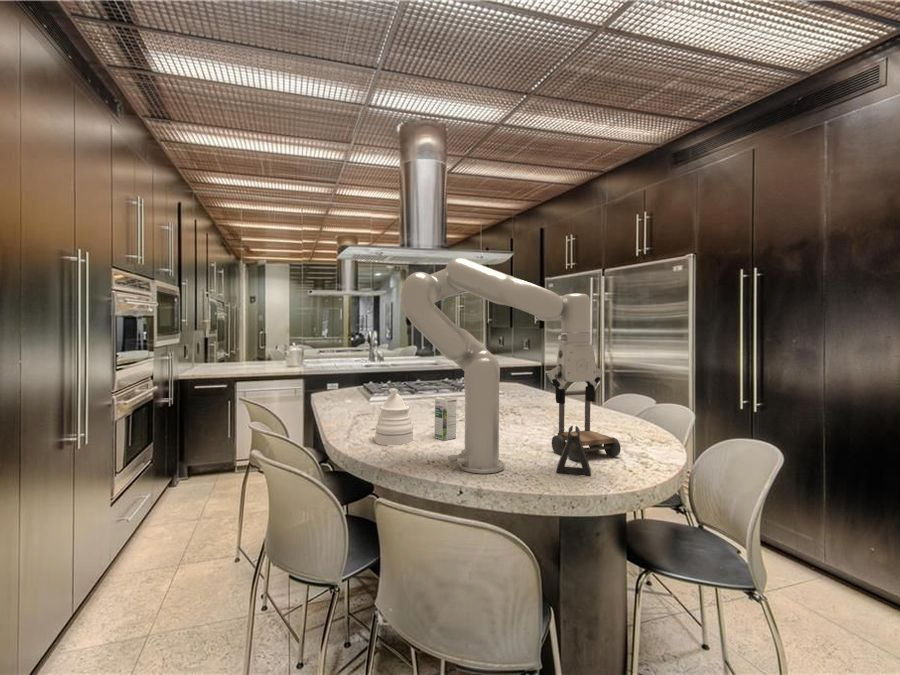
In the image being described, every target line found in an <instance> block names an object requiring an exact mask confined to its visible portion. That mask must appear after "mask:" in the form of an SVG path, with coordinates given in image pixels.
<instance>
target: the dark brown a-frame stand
mask: <svg viewBox="0 0 900 675" xmlns="http://www.w3.org/2000/svg"><path fill="white" fill-rule="evenodd" d="M573 429H575V431H576V432H577V433H578V434H577V435H576V436H573V435H572V434H571V433H570V432H573ZM580 431H581V430H580V427H578V426H577V425H576V426H575V428H574V426H573V425H571V426H569V427H568V430H567V432H568V440H567V441H566V445H565V447H564V450H563V452H562V454H560V457H559V460H558V462H557V464H556V470H555V473H556V474H559V475H569V474H572V475H571V476H580V475H585V476H584V477H592V472H591V467H590V463H589V460H588V458H587V455H586V451H584V449H583V448H584V446H582V443H581V440H580ZM572 443H575V444H576V445H577V449H578V453H579V457H580V460H579V461H580V464H581V467H575V466H566V464H567V460H568V458H569V456H568V453H569V450H570V446H571V444H572Z"/></svg>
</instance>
